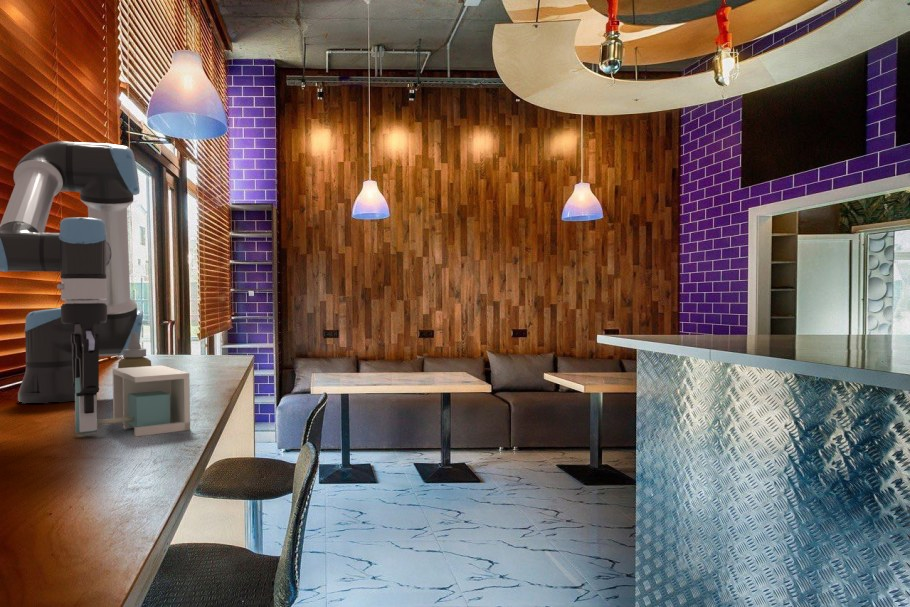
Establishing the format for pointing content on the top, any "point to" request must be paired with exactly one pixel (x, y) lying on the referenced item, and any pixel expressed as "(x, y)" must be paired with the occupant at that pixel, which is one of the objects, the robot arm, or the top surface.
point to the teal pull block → (135, 409)
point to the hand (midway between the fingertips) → (86, 428)
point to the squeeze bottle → (134, 354)
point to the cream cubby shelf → (153, 381)
